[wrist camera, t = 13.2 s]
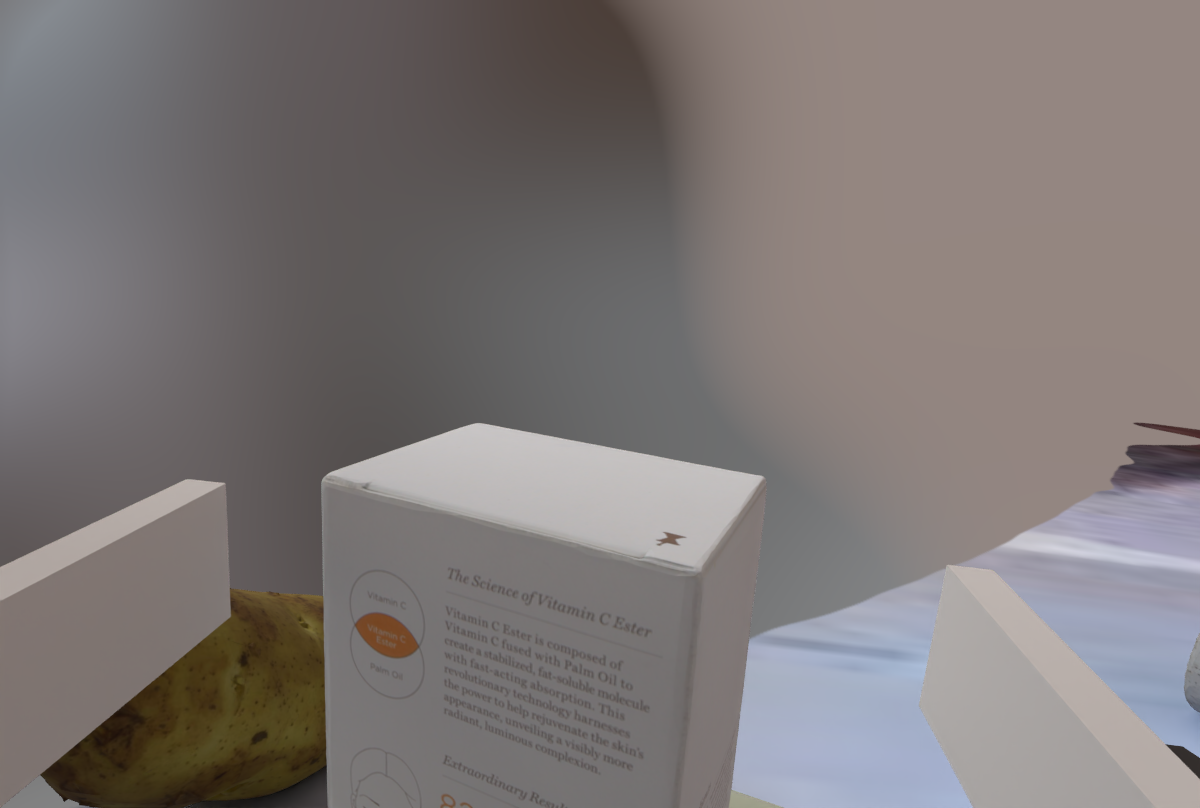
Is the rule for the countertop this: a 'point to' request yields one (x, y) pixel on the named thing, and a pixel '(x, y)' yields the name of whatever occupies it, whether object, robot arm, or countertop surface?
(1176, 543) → the countertop surface
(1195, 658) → the ceramic mug
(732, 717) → the small box
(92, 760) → the potato
